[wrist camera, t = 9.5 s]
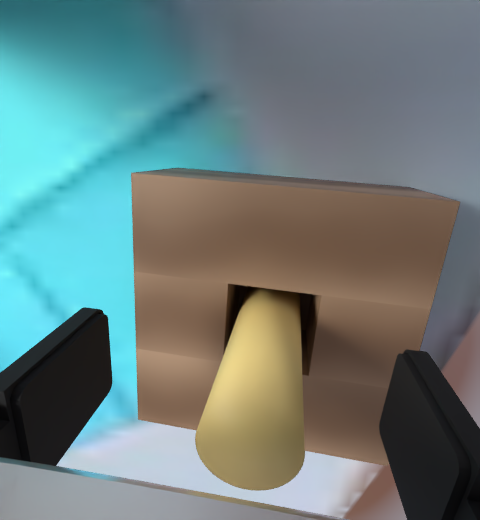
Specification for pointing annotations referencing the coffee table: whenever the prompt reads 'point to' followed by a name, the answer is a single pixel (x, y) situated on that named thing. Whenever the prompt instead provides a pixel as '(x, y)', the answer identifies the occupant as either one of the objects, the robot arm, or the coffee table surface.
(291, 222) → the bore block
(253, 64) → the coffee table surface
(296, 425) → the pin
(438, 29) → the coffee table surface
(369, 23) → the coffee table surface
